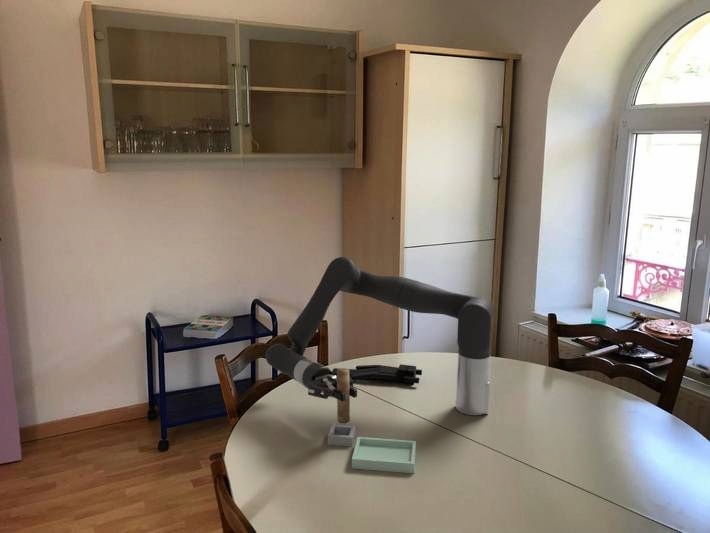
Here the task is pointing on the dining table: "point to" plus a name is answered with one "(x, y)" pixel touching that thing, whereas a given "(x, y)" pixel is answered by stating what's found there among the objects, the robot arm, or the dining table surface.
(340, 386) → the dowel
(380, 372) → the toy
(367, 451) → the tray
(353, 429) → the holder
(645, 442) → the dining table surface
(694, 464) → the dining table surface
